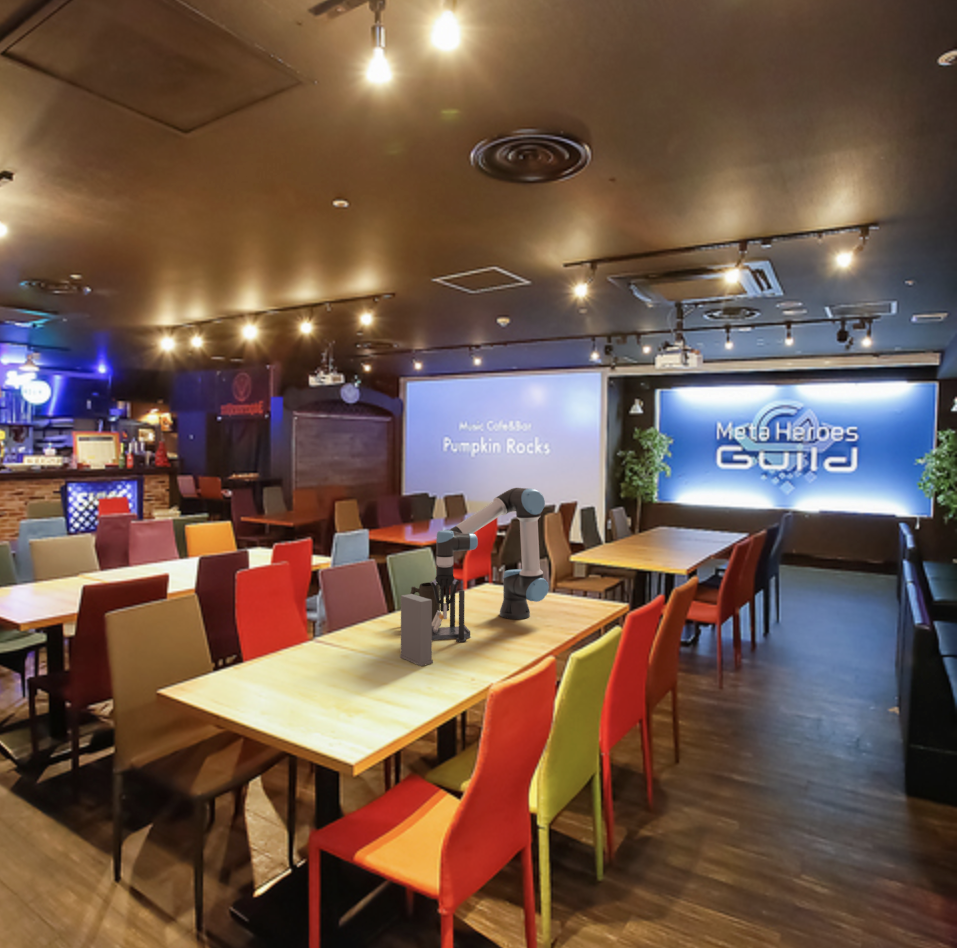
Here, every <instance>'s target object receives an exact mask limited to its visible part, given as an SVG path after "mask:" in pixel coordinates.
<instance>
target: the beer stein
mask: <svg viewBox="0 0 958 948" xmlns="http://www.w3.org/2000/svg"><path fill="white" fill-rule="evenodd" d="M430 582H431V581H430ZM430 582H422V583H420V584H419V587H416V586H411V587H410V589H411V591H410V593H409V594H414V595H416V593H418V594H419V595H418V596H421V597H424V598H427V599H431V600H432V622H433V619H434V617H435V615H436V612H437V610H438V611H440V612H441V610H440V604H439V603H437V602H436V598H435V594H434V590H433V586H432V585H431V583H430ZM436 588H437V592H438V596H439V600H440V586H439V584H438V583H437V582H436ZM441 625H442V623H441V624H440V626H441Z"/></svg>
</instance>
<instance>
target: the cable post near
mask: <svg viewBox="0 0 958 948" xmlns="http://www.w3.org/2000/svg"><path fill="white" fill-rule="evenodd" d="M465 592H466V591H465V590H463V589H460V590H458V626H459V638H457V639H455V640H456V641H455V642H457V643H460V644H463V643H466V642H467V638H464V625H465Z"/></svg>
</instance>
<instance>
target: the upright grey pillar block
mask: <svg viewBox="0 0 958 948" xmlns="http://www.w3.org/2000/svg"><path fill="white" fill-rule="evenodd" d="M432 642H433V640H432V600H431V599H427V598H424V597H421V596H419V595H417V594H410V593H409V594H402V595H400V655H399V656H400V658H401V659H404V660H406V661H408V662H410V663H413V664H415V665H417V666H419V667H423V666H426V665H431V664H434V660H433V650H432V647H433V644H432Z"/></svg>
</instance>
